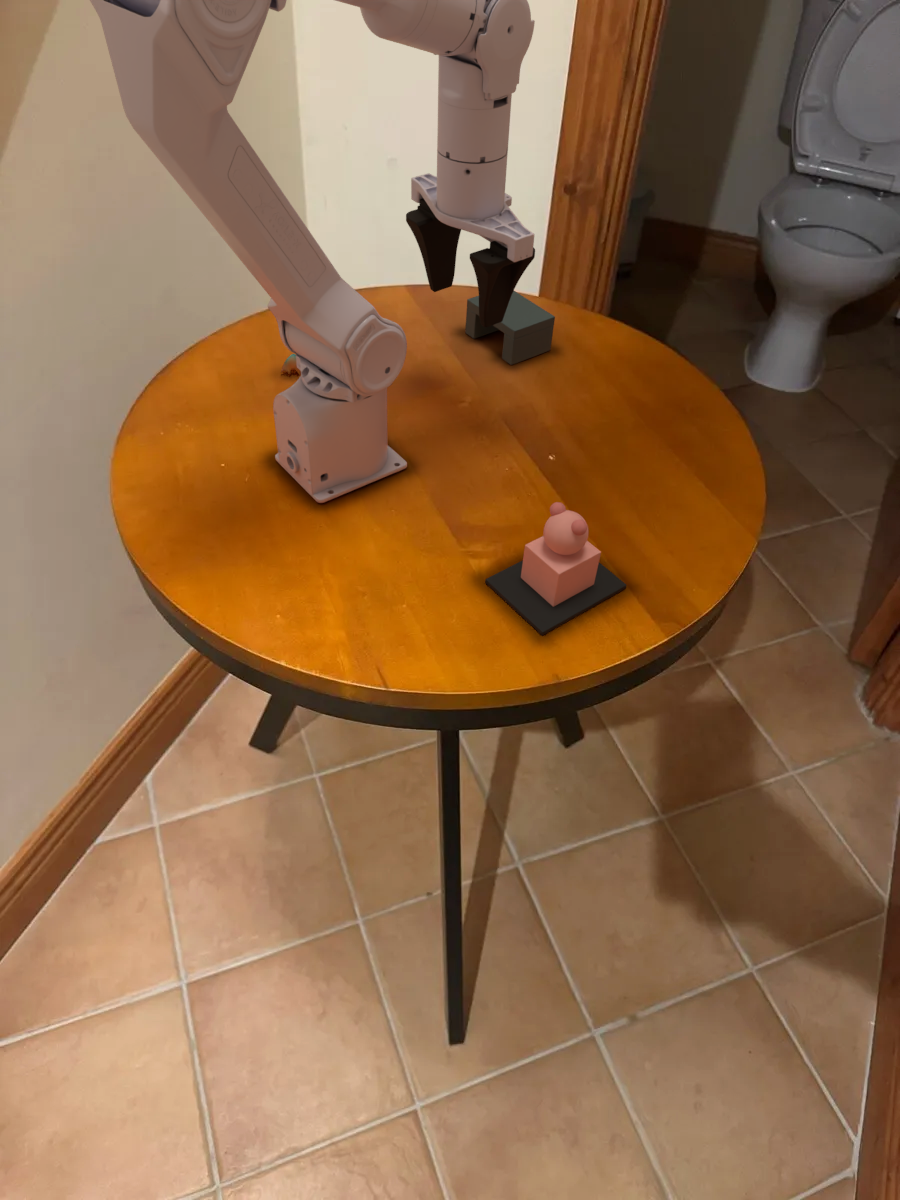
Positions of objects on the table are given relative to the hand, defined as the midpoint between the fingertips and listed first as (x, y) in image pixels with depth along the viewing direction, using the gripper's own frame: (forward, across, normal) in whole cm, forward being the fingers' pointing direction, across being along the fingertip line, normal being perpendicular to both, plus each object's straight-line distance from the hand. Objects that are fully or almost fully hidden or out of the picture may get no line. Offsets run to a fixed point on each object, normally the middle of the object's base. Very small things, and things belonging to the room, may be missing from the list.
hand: (465, 305), depth 83 cm
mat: (+10, -25, +10) cm, 29 cm away
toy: (+10, -25, +10) cm, 29 cm away
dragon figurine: (+10, +12, +9) cm, 18 cm away
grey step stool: (+11, +6, -11) cm, 17 cm away
